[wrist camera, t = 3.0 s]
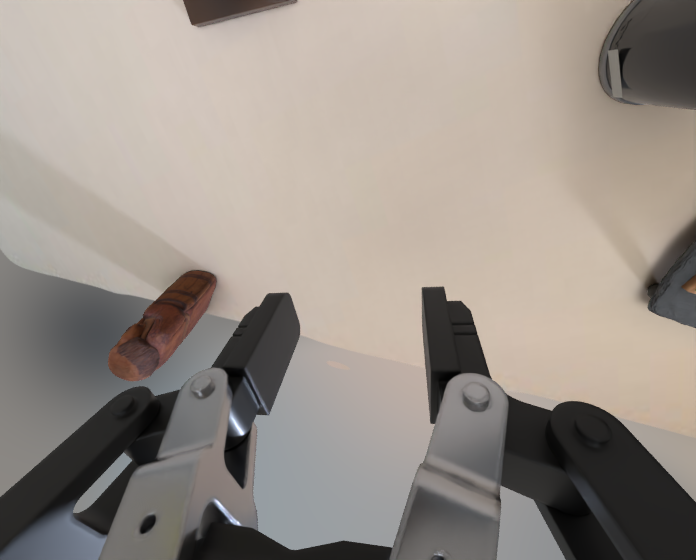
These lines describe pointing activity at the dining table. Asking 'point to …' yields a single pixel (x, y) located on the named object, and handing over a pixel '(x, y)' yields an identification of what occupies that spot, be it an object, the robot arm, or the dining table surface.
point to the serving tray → (677, 291)
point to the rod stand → (227, 9)
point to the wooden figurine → (162, 327)
